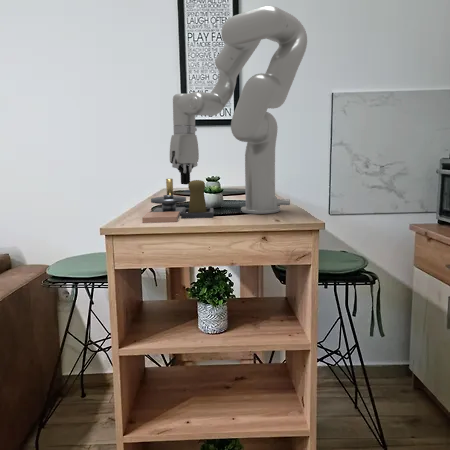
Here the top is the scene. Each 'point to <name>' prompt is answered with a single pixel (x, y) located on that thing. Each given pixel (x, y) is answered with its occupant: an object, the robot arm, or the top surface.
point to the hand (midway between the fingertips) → (185, 183)
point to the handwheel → (168, 195)
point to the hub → (169, 208)
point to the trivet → (161, 217)
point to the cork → (197, 196)
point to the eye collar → (197, 214)
